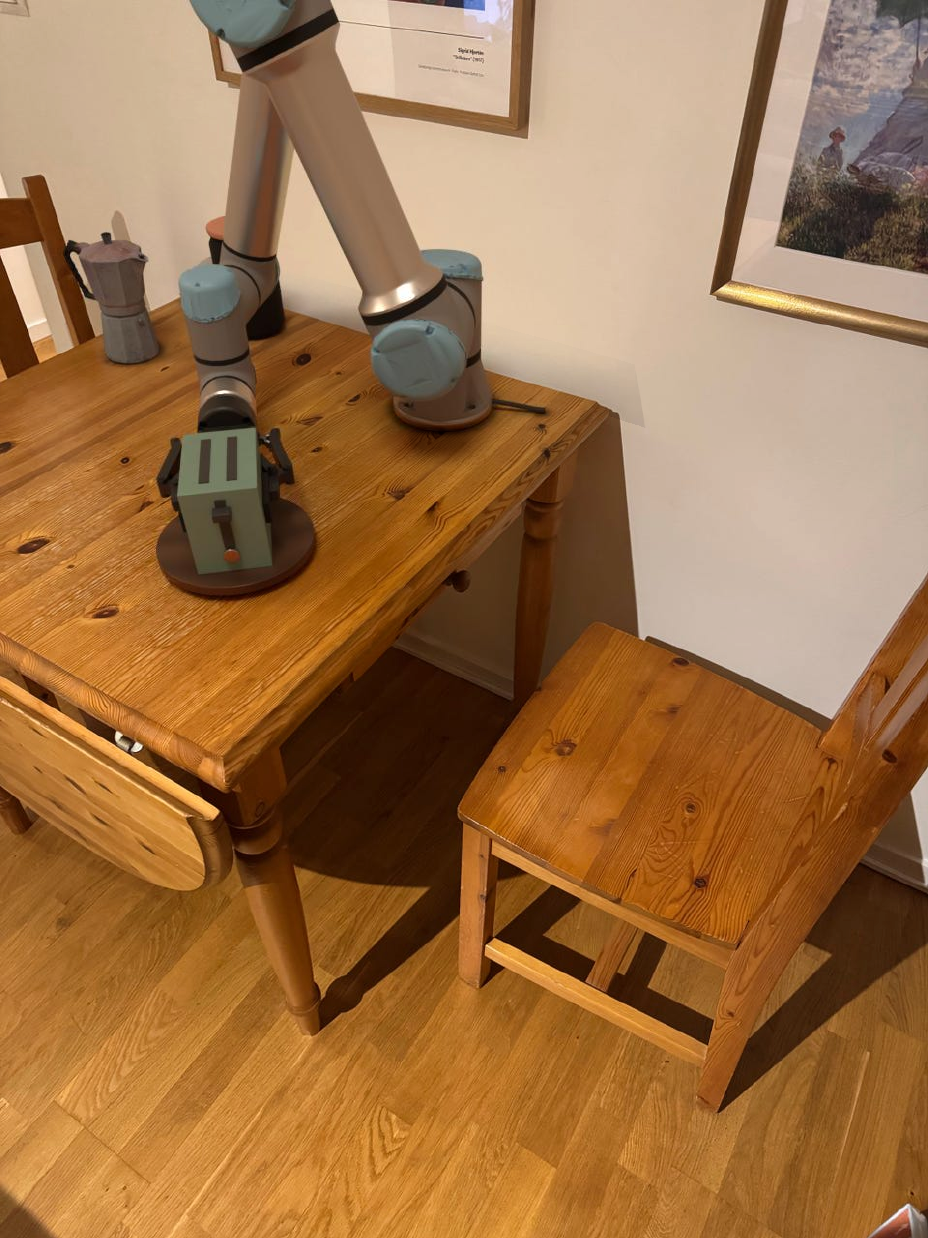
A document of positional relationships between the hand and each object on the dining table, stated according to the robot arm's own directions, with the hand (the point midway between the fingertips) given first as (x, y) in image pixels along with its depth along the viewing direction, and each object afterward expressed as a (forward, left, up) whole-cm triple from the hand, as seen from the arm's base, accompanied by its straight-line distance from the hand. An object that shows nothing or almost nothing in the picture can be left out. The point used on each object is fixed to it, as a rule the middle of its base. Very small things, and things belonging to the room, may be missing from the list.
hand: (226, 517), depth 98 cm
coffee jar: (+15, -68, -9) cm, 71 cm away
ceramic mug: (+27, -80, -9) cm, 85 cm away
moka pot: (+34, -57, -9) cm, 67 cm away
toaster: (+1, -4, -7) cm, 9 cm away
